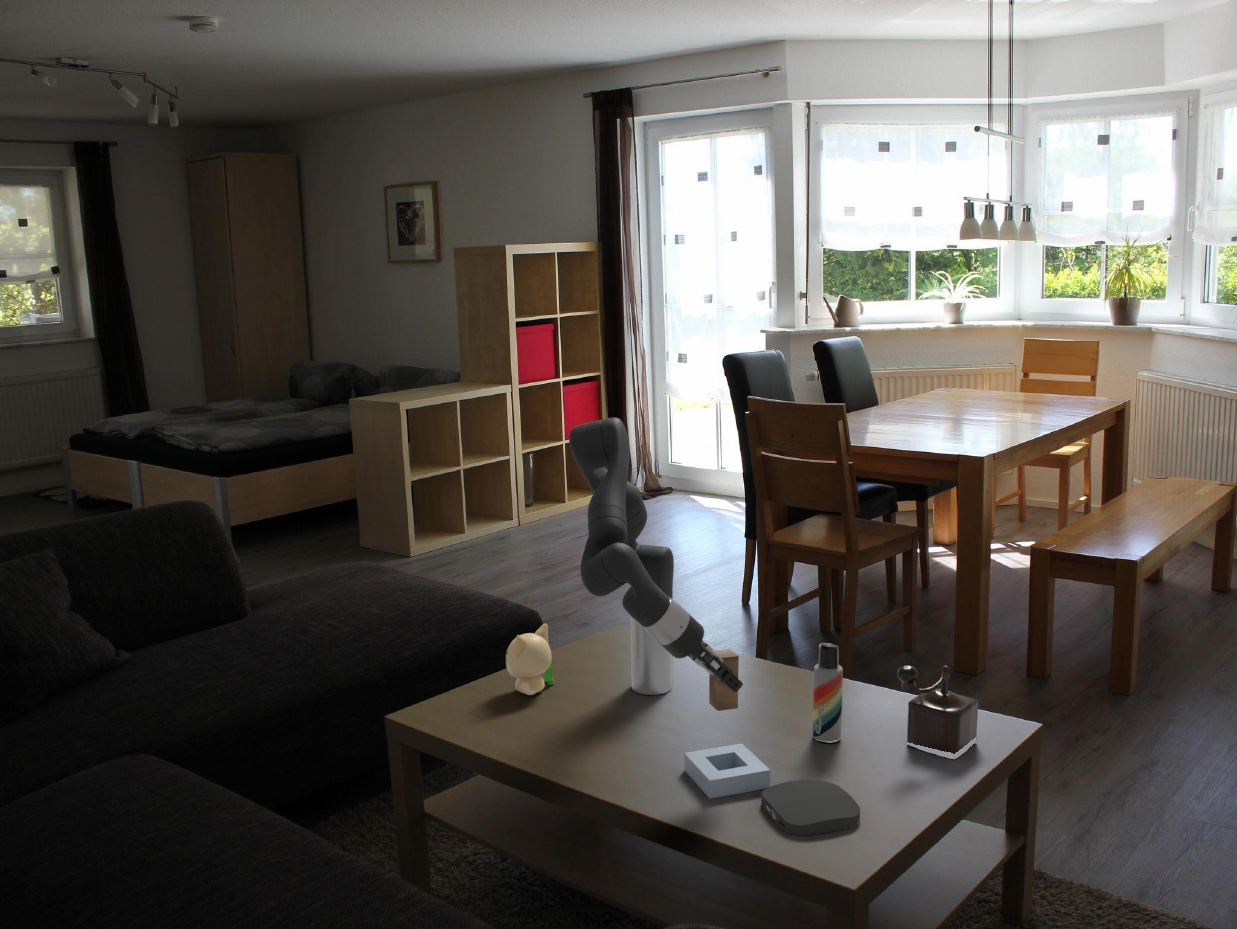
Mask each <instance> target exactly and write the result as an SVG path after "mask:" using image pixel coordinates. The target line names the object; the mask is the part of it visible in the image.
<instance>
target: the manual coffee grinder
mask: <svg viewBox="0 0 1237 929" xmlns="http://www.w3.org/2000/svg"><path fill="white" fill-rule="evenodd" d="M941 670H942V672H941V676H940V678H939V679H938V680H937V682H935V683H934V684H933V685H932V686H927V687H926V688H918V687H917V684H916V682H915V680H916V679H917V678H918V670H917V668H916V667H915V666H912V665H910V664H906V665H905V664H904V665H903V666H901V667H900V666H899V667H898V669H897V675H896V676H897V679H899V680H900V681H901V686H900V687H901V689H902V690H904V691H908V692H910V691H911V692H914V693H918V695H917V696H916V697H914V698H912V699H911V700H909V701H908V705H907V706H908V707H907V708H908V710H907V712H908V714H907V732H906V733H907V736H906V738H907V740H906V743H907V742H909V743H913V744H915V745H920V746H924V747H928V748H932V749H937V750H940V751H944V752H945V751H946V752H951V753H953V754H955V753H956V752H958V751H959V750H960V749H962V748H963V747H964V746H965V745H967V744H968V743H969V742H970V741H971V740H973V739H974V738H975V737H976V738H977V733H978V732H977V728H978V717H979V715H978V714H979V700H978V699H975V698H973V697H969V696H966V695H961V694H958V693H955V692H952V691H951V690H948V678H950V673H949V671H950V667H949V665H948V666H947V665H943V666H942V668H941ZM939 687H941V688H939Z"/></svg>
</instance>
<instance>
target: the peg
mask: <svg viewBox="0 0 1237 929" xmlns="http://www.w3.org/2000/svg"><path fill="white" fill-rule="evenodd" d="M713 651H714V652H715V653H716V654H717V655H718V656H719V657H720V658H721V659H722V660H723V663H724V664H725V665H726V666H727V667H728V668H729V669H731V670H732V672H733V674H734V675H735V676H736V677H737V678H738V679H739V660H740V659H739V655H738V654H737V653H736V652H734V651H732V649H730V648H728V649H719V650H713ZM714 657H715V656H714ZM708 674H709V673H708ZM708 678H709V680H708V681H709V682H708V683H709V687H708V688H709V692H708V693H709V694H708V697H709V698H708V703H709V705H711V706H712V707H713V708H714V709H715V710H716V711H717V712H721V711H728V710H734V709H735V710H737V709H739V690H738V691H737V692H734V691H733V690H732V689H731V688H730V687H728V686H727V685H726V684H725V683H724V682H721V681H720V680H719V678H718V677H717V676H716V675H715V674H713V675H711V674H709V677H708Z"/></svg>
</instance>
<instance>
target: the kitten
mask: <svg viewBox="0 0 1237 929" xmlns="http://www.w3.org/2000/svg"><path fill="white" fill-rule="evenodd" d="M552 659H553V658H552V651H551V647H550V644H549V625H548V624H547V623H543V624H542V625H541V626H540V627H539V628H538V629H537V630H536V631H535V632H534V633H533V632H528V633H527V632H526V633H523V634H520V635H519V634H516V637H515V638H513V640H512V641H511V642H510V643H509V645H508V647H507V649H506V650H505V665H506V670H507V672H508V674H509V675H510V676H511V677H513V678H516V680H515V684H514V687H515V690H516V691H517V692H519V693H522V694H525V695H527V696H533V695H535V694H537V693H540V692H541V691H543V689H544V688H545V683H547V686H554V684H555V680H554V678H553V671H554V670H553V666H552ZM542 674H543V676H542Z"/></svg>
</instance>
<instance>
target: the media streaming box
mask: <svg viewBox="0 0 1237 929" xmlns="http://www.w3.org/2000/svg"><path fill="white" fill-rule="evenodd" d="M761 807H762V809H763V810H764V811H765V812H766V813H767V815H768V816H769V817H770V818H771V820H772V821H774V822H775V824H776V825H777V826H778V827H780V829H781V830H782V831H784V832H785V833H787V834H791V835H793V836H799V837H801V836H802V837H806V836H814V835H815V836H816V835H820V834H819V833H822V834H826V833H825V832H828V833H832V831H834V832H837V831H836V830H839V831H842V830H841V829H844V830H846V829H845V828H849V827H853V826H855V825H856V824H857V823H858V822H859V820H861V819H860V818H861V809H860V808H861V807H860V806H859V804H858V803H857V802H856V800H855V799H854V798H853V797H852V796H851V795H850V794H849V793H848V792H847V791H846V790H845V789H843V787H841V786H839V785H837V784H836V783H832V782H829V781H827V780H821V779H798V780H797V779H796V780H789V781H785V782H780V783H778V784H773V785H770V787H768V788H766V789H763V791H762V792H761ZM859 823H860V822H859ZM855 827H856V826H855ZM853 828H854V827H853ZM849 829H850V828H849Z"/></svg>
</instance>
